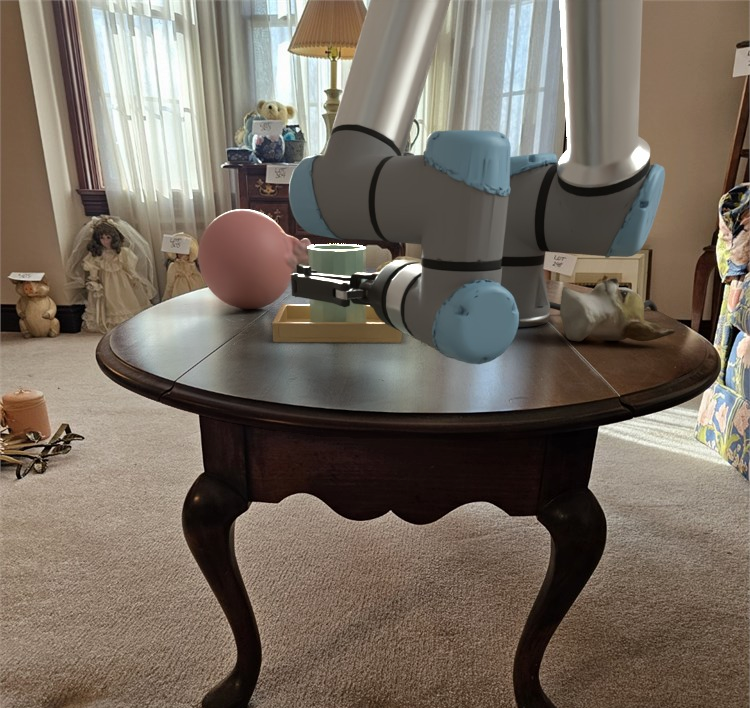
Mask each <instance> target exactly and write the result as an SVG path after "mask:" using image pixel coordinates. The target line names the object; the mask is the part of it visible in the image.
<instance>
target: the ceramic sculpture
mask: <svg viewBox="0 0 750 708" xmlns="http://www.w3.org/2000/svg"><path fill="white" fill-rule="evenodd" d="M619 286H620V285H619V280H618V278H616V277H612V278H609V279H604V280H602V281H601V282H599V283H597V284H596V285H595V287H594V288H593V289H592V290H591V291H589V292H584V293H583V292H578V291H576V290H573V289H570V288H568V287H566V286H563V287H562V289H561V298H560V304H561V306H560V311H559V316H560V318H561V322H562V325H563V326H562V327H563V331H564V335H565V337H566V338H567V339H568V341H572V342H581V341H583V340H585V338H587V337H593V338H597V339H598V340H602V341H605V342H620V341H624V340H627V339H629V340H633V341H636V342H637V341H638V342H650V341H654V340H658V339H661V338H664V337H667V336H671V335H673V334H675V332H676V330H675V329H671V328H663V327H662V326H661V325H659V324H658V323H655V322H653V321H651V322H650V321H647V320H645V318H644V315H645V314H644V313H645V309H644V300H643V298H642V296H640V294H639V293H637V291H635V290H633V289H631V288H628V287H619Z"/></svg>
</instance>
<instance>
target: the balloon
mask: <svg viewBox="0 0 750 708" xmlns="http://www.w3.org/2000/svg"><path fill="white" fill-rule="evenodd" d="M313 245H314V244H312V243H311V240H310V239H309V238H306V237H305V238H302V239H298V238H297V237H295V236H293V235H289V234H287V233H286V232H285V231H284V229H283V228H282V226H280V225H279V224H278V223H277V222H276V221H275V219H272V218H271V217H269V216H268V215H266V214H264V213H262V212H260V211H257V210H253V209H245V208H239V209H233V210H229V211H227V212H223V213H222V214H220V215H219V216H217V217H216V218H214V219H213V220H212V221H211V222H210V223H209V224H208V226H207V227H206V228H205V230H204V231H203V233H202V235H201V238H200V240H199V244H198V252H197V259H198V260H197V262H198V268H199V271H200V274H201V277H202V279H203V280H204V284H205V286H207V288H208V289H209V290H210V292H211V293H212V294H213V295H214V296H215V297H216V298H218V299H219V300H220V301H222V302H223V303H225V304H226V305H229V306H231V307H233V308H237V309H242V310H256V309H261V308H264V307H267V306H269V305H272V303H275V301H277V300H278V299H279V298H280V297H281V296H282V295H283V294H284V293H285V292H286V290H287V288H288V287H289V285H290V283H291V275H292V274H294V270H295V269H297V265H296V264H308V247H309V246H313Z"/></svg>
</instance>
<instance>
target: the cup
mask: <svg viewBox="0 0 750 708" xmlns="http://www.w3.org/2000/svg"><path fill="white" fill-rule="evenodd" d="M312 245H313V246H309V247H308V262H307V266H311V268H312V269H314V270H316V271H317V273H320V274H331V275H342V276H352V275H353V274H355V273H367V247H366V246H363V245H359V244H358V245H357V244H344V243H343V244H342V243H341V244H339V243H337V244H336V243H335V244H334V243H333V244H331V243H329V244H328V243H327V244H315V245H314V244H312ZM366 280H367V279H362V280H361V283H362V282H364V281H366ZM308 300H309V305H310V322H366V305H361V304H354V303H352V301H351V300H350V306H348V307H343V306H339V305H337V304H334V303H329V302H323V301H318V300H312V299H308Z"/></svg>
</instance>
